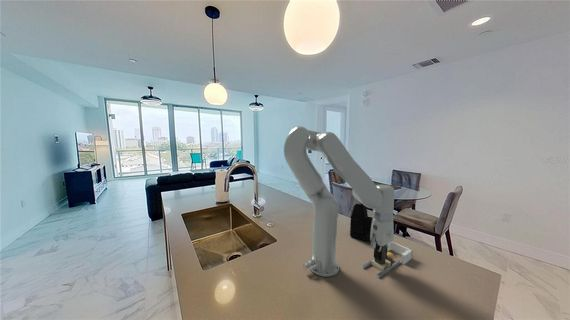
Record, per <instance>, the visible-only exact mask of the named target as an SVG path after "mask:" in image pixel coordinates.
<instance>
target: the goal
mask: <svg viewBox="0 0 570 320" xmlns="http://www.w3.org/2000/svg"><path fill="white" fill-rule="evenodd" d="M390 251H393V253H397V254H399V255H401V256H400V257H401V259H400V260H401V263H400V264H402V265H405V264H407V263H408V262H410V261H411V260H412V259H413V253H414V250H413V249H410V248H409V247H406V246H403V245H402V244H399V243H397V242H394V241H392V242H390V243H388V248H387V252H390Z"/></svg>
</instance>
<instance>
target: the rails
mask: <svg viewBox="0 0 570 320" xmlns="http://www.w3.org/2000/svg"><path fill="white" fill-rule="evenodd" d="M374 259H375V258H374V257H373V259H371V260H369V261H367V262H365V263H364V264H362V265H361V268H362V269H367V268H368V267H369V266H372V265H371V263H372V260H374ZM400 264H402V263H401V259H397V260H396V261H395V262H392V265H390V266H389V267H387V268H386V269H384V270H383V271H380V272H379V273H377V274H376V277H377V278H378V279H380V278H382V277H383V276H384V275H386V274H387V273H388V272H390V271H391V270H392V269H394V268H396V266H399V265H400Z"/></svg>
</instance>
